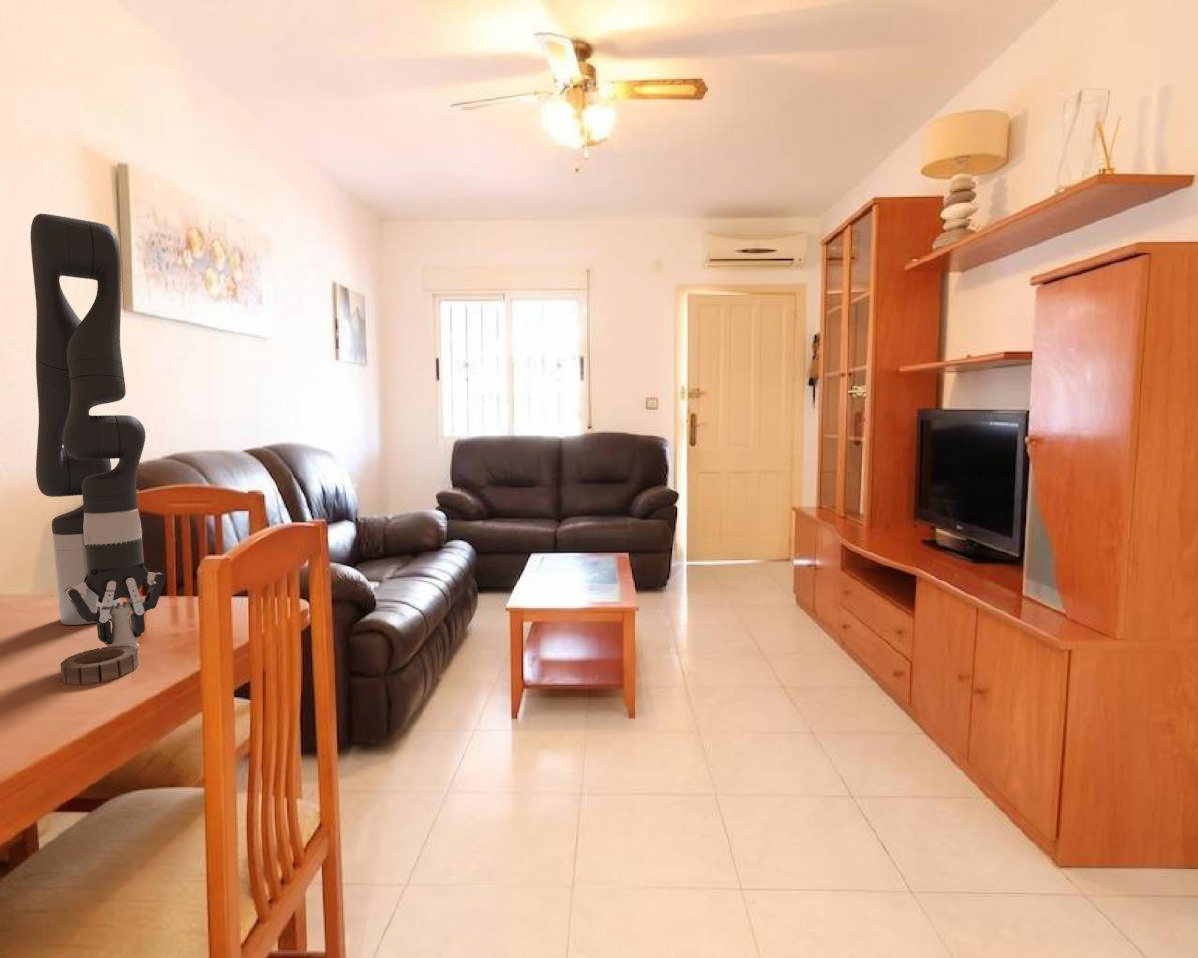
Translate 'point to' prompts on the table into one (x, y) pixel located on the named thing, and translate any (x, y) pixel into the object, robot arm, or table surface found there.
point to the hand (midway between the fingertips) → (122, 639)
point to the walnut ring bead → (99, 665)
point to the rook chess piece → (122, 626)
